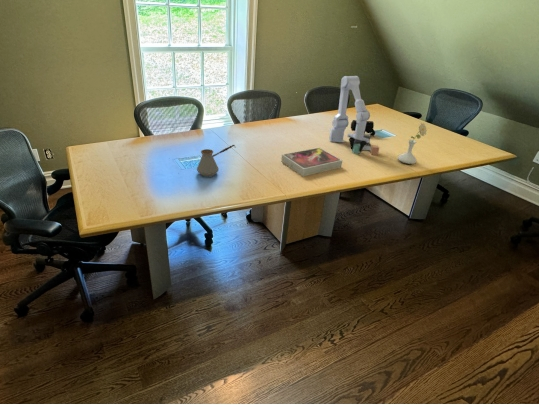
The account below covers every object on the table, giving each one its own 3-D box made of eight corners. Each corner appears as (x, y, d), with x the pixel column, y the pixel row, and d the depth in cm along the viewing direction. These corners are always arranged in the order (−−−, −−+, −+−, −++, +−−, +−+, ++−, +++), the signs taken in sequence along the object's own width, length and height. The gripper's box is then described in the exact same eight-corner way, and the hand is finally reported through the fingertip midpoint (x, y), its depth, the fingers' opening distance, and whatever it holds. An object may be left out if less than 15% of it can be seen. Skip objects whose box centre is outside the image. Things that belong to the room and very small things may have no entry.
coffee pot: (200, 179, 176) (198, 153, 168) (194, 170, 185) (193, 144, 177) (238, 174, 184) (239, 148, 177) (231, 165, 193) (231, 140, 185)
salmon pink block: (371, 154, 220) (373, 147, 218) (370, 152, 224) (371, 145, 221) (377, 155, 220) (379, 147, 218) (376, 152, 224) (377, 145, 221)
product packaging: (281, 162, 203) (281, 154, 200) (318, 154, 216) (319, 147, 213) (302, 177, 187) (303, 169, 184) (341, 168, 200) (342, 160, 198)
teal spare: (353, 153, 220) (354, 146, 218) (351, 150, 224) (353, 143, 221) (359, 153, 220) (360, 146, 218) (357, 151, 224) (359, 144, 221)
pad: (357, 150, 225) (357, 149, 225) (355, 145, 232) (355, 144, 232) (372, 151, 225) (372, 150, 225) (369, 146, 232) (369, 145, 232)
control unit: (353, 144, 234) (354, 135, 231) (351, 141, 238) (353, 133, 235) (370, 145, 234) (372, 136, 231) (368, 143, 238) (370, 134, 235)
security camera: (375, 137, 250) (378, 123, 245) (350, 135, 250) (353, 122, 245) (373, 133, 256) (376, 120, 251) (348, 132, 256) (351, 119, 251)
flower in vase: (404, 166, 207) (415, 126, 194) (393, 158, 216) (403, 120, 204) (422, 164, 211) (434, 125, 198) (410, 157, 220) (421, 119, 207)
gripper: (373, 131, 213) (368, 151, 220) (352, 125, 221) (348, 145, 228) (368, 134, 208) (364, 154, 215) (347, 128, 216) (343, 148, 223)
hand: (355, 150), depth 221 cm, fingers closed on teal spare, 6 cm apart
